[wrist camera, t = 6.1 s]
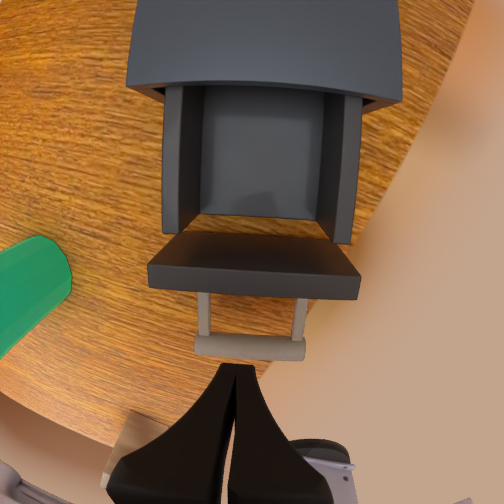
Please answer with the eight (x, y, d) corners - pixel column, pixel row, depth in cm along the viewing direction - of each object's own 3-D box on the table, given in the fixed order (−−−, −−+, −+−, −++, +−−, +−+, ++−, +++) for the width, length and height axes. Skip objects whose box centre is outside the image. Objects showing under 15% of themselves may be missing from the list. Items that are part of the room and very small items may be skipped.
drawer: (320, 326, 20) (337, 382, 15) (182, 318, 20) (158, 371, 15) (344, -7, 13) (370, -53, 8) (195, -15, 13) (172, -63, 8)
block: (168, 426, 25) (148, 491, 18) (159, 444, 27) (140, 503, 19) (130, 409, 25) (102, 472, 17) (124, 428, 26) (99, 486, 19)
